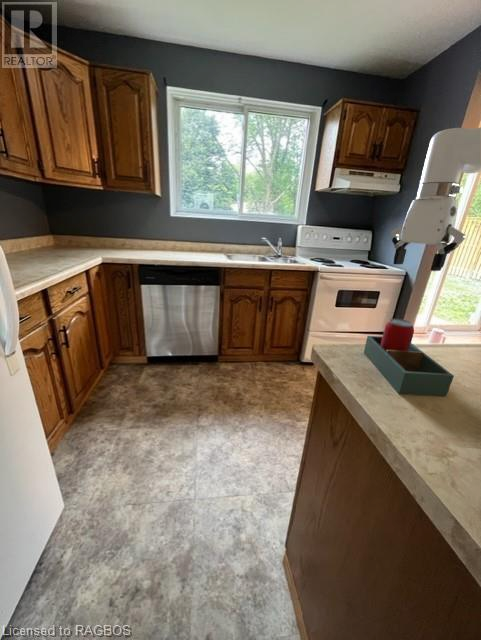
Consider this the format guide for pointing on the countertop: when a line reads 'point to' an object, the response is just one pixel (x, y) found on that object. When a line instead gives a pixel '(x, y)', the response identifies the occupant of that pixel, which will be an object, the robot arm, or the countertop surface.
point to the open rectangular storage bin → (409, 369)
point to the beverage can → (397, 335)
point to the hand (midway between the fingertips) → (415, 267)
